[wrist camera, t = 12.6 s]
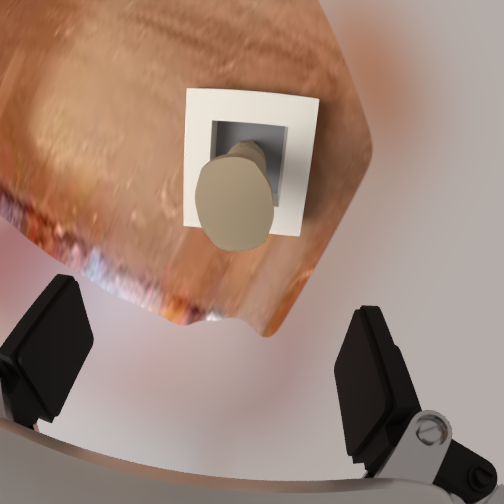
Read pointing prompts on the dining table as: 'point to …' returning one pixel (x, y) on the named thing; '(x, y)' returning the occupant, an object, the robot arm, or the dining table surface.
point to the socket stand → (265, 136)
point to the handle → (236, 198)
